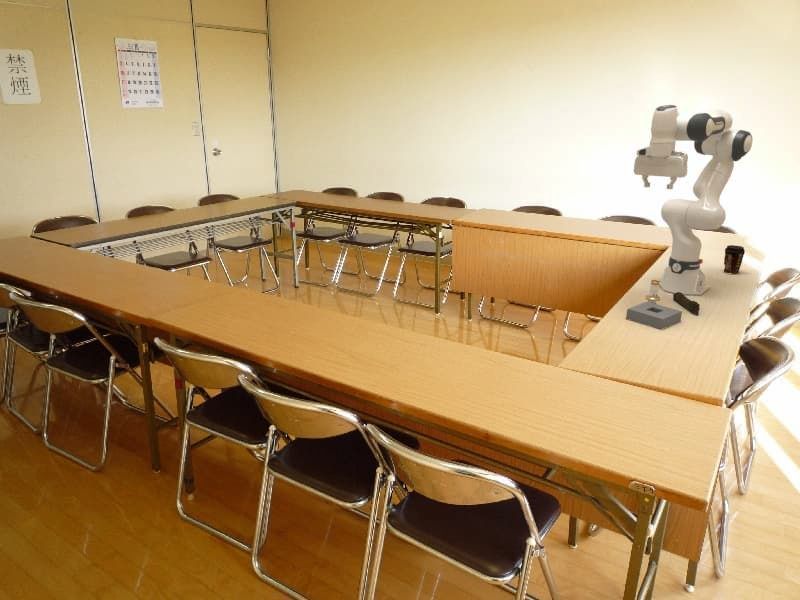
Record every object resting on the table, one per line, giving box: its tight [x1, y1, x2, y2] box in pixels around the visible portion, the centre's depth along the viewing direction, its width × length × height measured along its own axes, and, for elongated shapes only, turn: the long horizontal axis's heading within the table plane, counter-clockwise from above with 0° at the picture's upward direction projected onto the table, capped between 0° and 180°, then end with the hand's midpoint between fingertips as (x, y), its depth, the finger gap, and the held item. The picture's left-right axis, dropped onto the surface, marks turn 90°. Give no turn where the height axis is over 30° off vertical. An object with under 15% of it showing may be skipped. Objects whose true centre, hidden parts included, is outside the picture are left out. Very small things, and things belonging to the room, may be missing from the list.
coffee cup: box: [723, 244, 745, 275], centre depth 282 cm, size 9×8×13 cm
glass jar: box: [645, 279, 661, 304], centre depth 232 cm, size 6×6×11 cm
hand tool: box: [672, 292, 701, 316], centre depth 234 cm, size 19×4×5 cm, turn 176°
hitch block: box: [625, 301, 683, 330], centre depth 219 cm, size 14×14×4 cm
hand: (658, 188), depth 223 cm, fingers open, 8 cm apart
